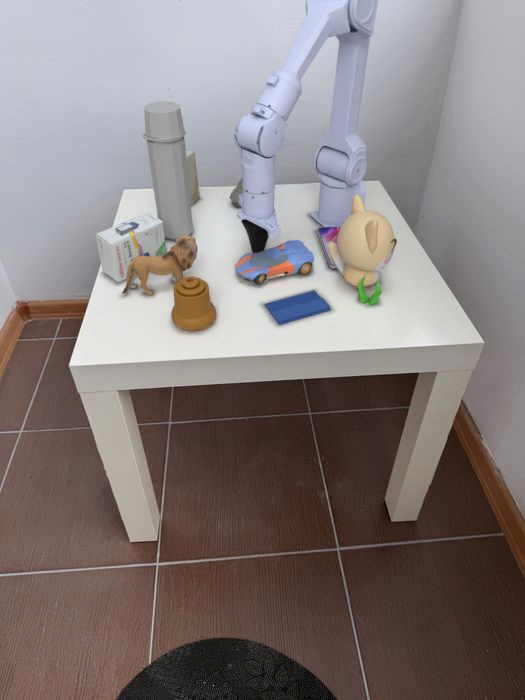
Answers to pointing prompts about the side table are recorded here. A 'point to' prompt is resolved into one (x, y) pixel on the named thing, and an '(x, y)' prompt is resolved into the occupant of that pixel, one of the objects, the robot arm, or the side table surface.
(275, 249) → the toy car
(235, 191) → the stone
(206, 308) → the ornamental finial
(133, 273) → the lion figurine
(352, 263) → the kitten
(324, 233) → the smartphone
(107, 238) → the ink box
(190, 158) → the box
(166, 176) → the water bottle
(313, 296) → the cloth
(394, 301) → the side table surface
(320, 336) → the side table surface
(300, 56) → the robot arm
